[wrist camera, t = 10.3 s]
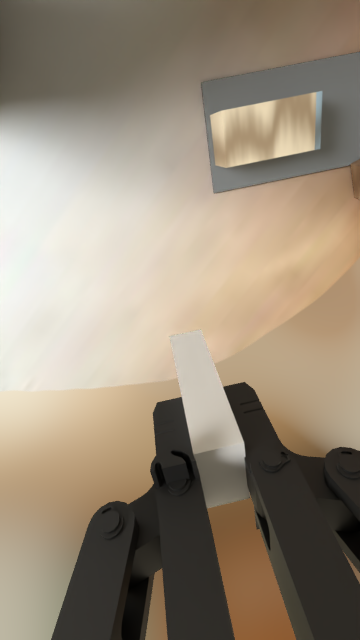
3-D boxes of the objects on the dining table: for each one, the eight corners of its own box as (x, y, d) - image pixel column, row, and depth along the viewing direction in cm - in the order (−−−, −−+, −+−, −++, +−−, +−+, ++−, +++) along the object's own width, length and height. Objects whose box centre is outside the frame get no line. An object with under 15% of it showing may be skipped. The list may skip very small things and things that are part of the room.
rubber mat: (201, 82, 34) (201, 82, 34) (374, 49, 35) (376, 48, 34) (213, 192, 39) (214, 193, 39) (363, 162, 40) (365, 162, 40)
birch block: (298, 97, 35) (209, 115, 35) (322, 90, 31) (221, 110, 31) (298, 148, 38) (215, 165, 38) (320, 148, 33) (226, 167, 33)
